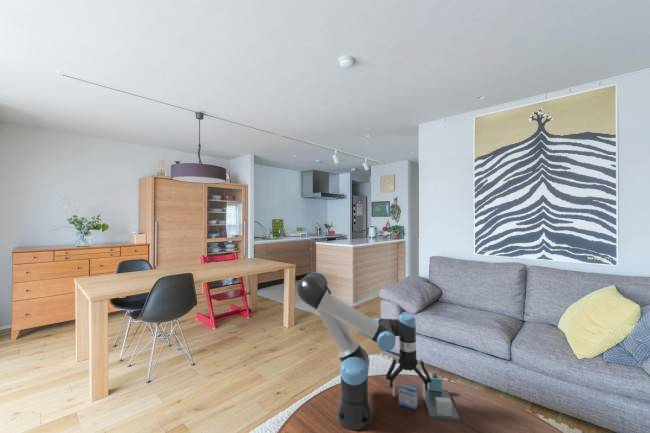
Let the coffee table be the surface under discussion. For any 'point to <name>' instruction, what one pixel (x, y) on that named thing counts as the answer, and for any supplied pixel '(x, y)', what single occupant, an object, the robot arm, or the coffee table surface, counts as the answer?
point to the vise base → (433, 405)
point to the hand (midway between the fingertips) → (408, 395)
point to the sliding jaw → (435, 383)
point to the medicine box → (408, 395)
